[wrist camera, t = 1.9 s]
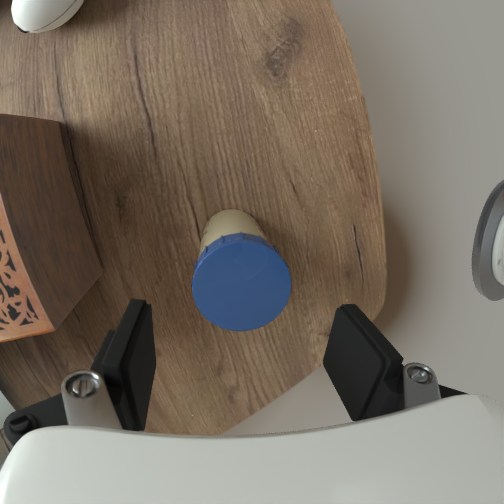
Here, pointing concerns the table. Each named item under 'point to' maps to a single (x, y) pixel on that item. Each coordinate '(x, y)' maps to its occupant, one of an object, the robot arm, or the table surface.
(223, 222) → the jar
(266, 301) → the jar lid
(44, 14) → the white egg shaped container
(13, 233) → the tissue box cover
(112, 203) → the table surface
